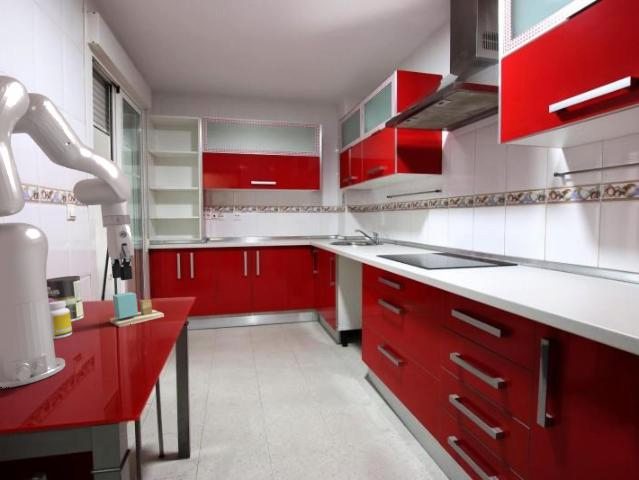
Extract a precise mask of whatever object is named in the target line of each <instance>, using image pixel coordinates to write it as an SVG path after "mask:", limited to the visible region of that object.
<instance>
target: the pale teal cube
mask: <svg viewBox="0 0 639 480" xmlns="http://www.w3.org/2000/svg"><path fill="white" fill-rule="evenodd" d="M112 301H113V309H114V311H113V312H114V317H118V318H125V317H129V316H134V315H138V312H139V311H138V310H139V308H138V301H137V293H134V292H132V291H130V292H124V293H118V294H113V295H112Z"/></svg>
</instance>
